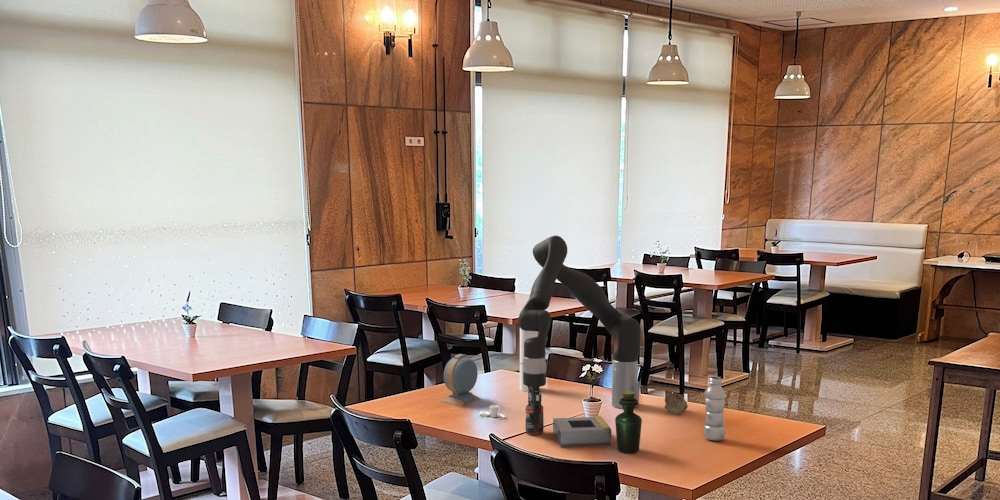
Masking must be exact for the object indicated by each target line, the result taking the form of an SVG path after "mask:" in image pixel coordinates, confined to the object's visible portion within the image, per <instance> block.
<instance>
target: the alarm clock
mask: <svg viewBox="0 0 1000 500" xmlns="http://www.w3.org/2000/svg"><path fill="white" fill-rule="evenodd" d="M478 374H479V373H478V367H477V364H476V363H475V362H474V360H473V359H471V358H470V357H469V356H468V355H467V354H462V353H458V354H456V355H455V356H454V357H452V358H450V359H449V360H448V361H447V363H446V365H445V367H444V371H443V382H444V385H445V387H446V388H447V389H448V390H449V391H451V392H452V393H451V394H449V396H446V398H444V399H442V400H441V401H440V402H441V403H445V404H449V405H450V404H451V405H454V404H455V406H459V405H462V406H465V405H467V404H470V403H473V402H475V401H476V402H477V401H479V400H481V397H479V396H478V395H475V394H473V393H472V392H470V391H471V390H472V389H474V387H475V385H476V383H477V380H478ZM464 404H465V405H464Z"/></svg>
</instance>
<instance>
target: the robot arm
mask: <svg viewBox="0 0 1000 500" xmlns="http://www.w3.org/2000/svg"><path fill="white" fill-rule="evenodd" d="M532 255H533V258H534V260H535V261H536V262H537V264H538V265H539V266H541V267H542V268H541V270H540V272H539V274H538V275H537V276H536V278H535V280H534V282H533V283H532V287H531V289H530V295H529V297H528V300H527V302H526V303H525V305H524V306H523V307H522V309H521V310H520V313H519V315H518V319H517V323H518V327H519V329H520V328H521V329H522V330H524V331H538V336H537V337H533V338H528V339H526V340H525V341H524V361H523V384H524V385H525V386H528V391H527V394H528V395H527V400H528V399H529V398H530V405H531V406H532V422H533V424H539V414H540V412H541V405H542V397H543V396H542V390H541V389H540V388H541V387H544V386H545V385H547V359H546V345H547V339H548V335H549V330H550V327H551V323H552V316H551V314H550V312H549V311H548V310H547V309H548V308H549V307H550V303H551V299H552V295H553V291H554V287H555V283H556V280H557V281H559V283H561V284H562V285H563V286H564V287H565V288H566V289H567V290H568V291H569V292H570V293H571V294H572V296H573V297H574V298H575V299H576V300H578V302H579V303H580V304H581V305H582V306H583V307H584V308H585V309H587V310H588V311H589V312H590V313H591V314H592V315H594V317H595V318H596V319H597V320H599V321H600V323H601V324H602V325H603V327H604V328H605V329H606V331H607V332H608V333H609V334H610V335H611V336H612V338H614V339H616V340H617V347H616V348H617V349H616V350H613V352H612V362H611V363H612V365H611V366H612V367H611V370H612V373H611V381H612V382H611V406H612V407H615V408H618V409H623V406H622V405H621V404H619V401H620V399H621V398H623V391H633V392H635V396H634V399H637V401H638V405H636V406H635V408H639V407H640V403H639V402H640V381H639V380H638V370H639V369H638V368H639V367H638V365H639V364H638V363H639V361H638V360H639V359H638V358H639V355H640V351H641V339H642V331H641V324H640V323H639V320H636V318H632V317H631V316H626V315H624V314H622V313H621V312H620V311H618V309H616V308H615V307H614V306H613V305H612V304H611V302H610V301H609V299H608V296H607V294H606V293H605V291H604V289H603V288H602V287H601V285H599V283H597V282H596V281H595V280H594V278H592V276H590V275H588V274H586V273H584V272H581V271H579V270H576V269H573V268H570V267H568V266H566V265H565V264H564V262H565V261H566V258H567V255H568V245H567V243H566V241H565V239H563V237H562V236H561V235H560V236H559V235H552V236H549V237H547V238H546V239H544V240H542V241H540V242H538V243H537V244H535V245H534V247H533V248H532ZM532 401H533V402H532ZM535 406H538V408H535Z"/></svg>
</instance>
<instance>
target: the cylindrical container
mask: <svg viewBox="0 0 1000 500" xmlns="http://www.w3.org/2000/svg"><path fill="white" fill-rule="evenodd" d="M538 335H539V332H538V331H524V330H522V329H521V328H520V327H519V390H520V391H523V392H528V386H525V385H524V384H523V361H524V341H525V340H526V339H528V338H533V337H537V336H538Z"/></svg>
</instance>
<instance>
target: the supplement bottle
mask: <svg viewBox="0 0 1000 500" xmlns="http://www.w3.org/2000/svg"><path fill="white" fill-rule="evenodd" d="M532 402H533V401H532ZM527 403H528V404H526V406H525V433H526V434H527V435H529V436H539V435H542V434H543V433H544V431H545V430H544V427H545V426H544V405H542V404H541V412H540V414H539V424H533V422H532V406H531V405H530V398H529V399H528V398H527ZM535 408H538V406H535Z"/></svg>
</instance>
